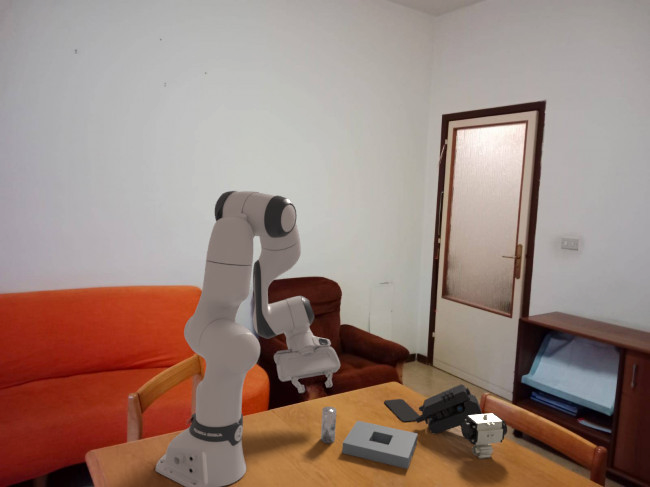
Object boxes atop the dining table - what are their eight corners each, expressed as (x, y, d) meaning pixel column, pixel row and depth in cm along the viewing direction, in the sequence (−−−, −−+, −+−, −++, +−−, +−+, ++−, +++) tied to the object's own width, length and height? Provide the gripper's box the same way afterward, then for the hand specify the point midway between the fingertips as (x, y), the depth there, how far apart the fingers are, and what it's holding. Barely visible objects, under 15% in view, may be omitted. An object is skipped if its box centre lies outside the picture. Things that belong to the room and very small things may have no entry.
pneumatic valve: (458, 453, 133) (461, 412, 132) (495, 449, 136) (498, 408, 135) (469, 464, 128) (472, 421, 127) (507, 459, 131) (511, 418, 130)
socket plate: (342, 453, 130) (342, 442, 130) (356, 430, 144) (357, 420, 143) (407, 469, 124) (408, 458, 124) (416, 443, 137) (417, 433, 137)
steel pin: (318, 441, 136) (320, 411, 135) (323, 434, 140) (325, 405, 139) (332, 444, 135) (333, 414, 134) (336, 437, 138) (338, 408, 137)
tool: (492, 433, 139) (469, 387, 139) (431, 455, 144) (409, 411, 144) (489, 423, 145) (467, 379, 145) (431, 445, 150) (410, 402, 150)
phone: (402, 421, 150) (382, 400, 164) (402, 424, 150) (382, 402, 164) (423, 419, 152) (402, 398, 166) (423, 421, 152) (402, 401, 166)
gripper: (275, 347, 143) (288, 390, 136) (334, 339, 153) (349, 379, 146) (269, 356, 147) (281, 399, 140) (326, 348, 157) (340, 388, 150)
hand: (316, 389), depth 143 cm, fingers open, 8 cm apart
